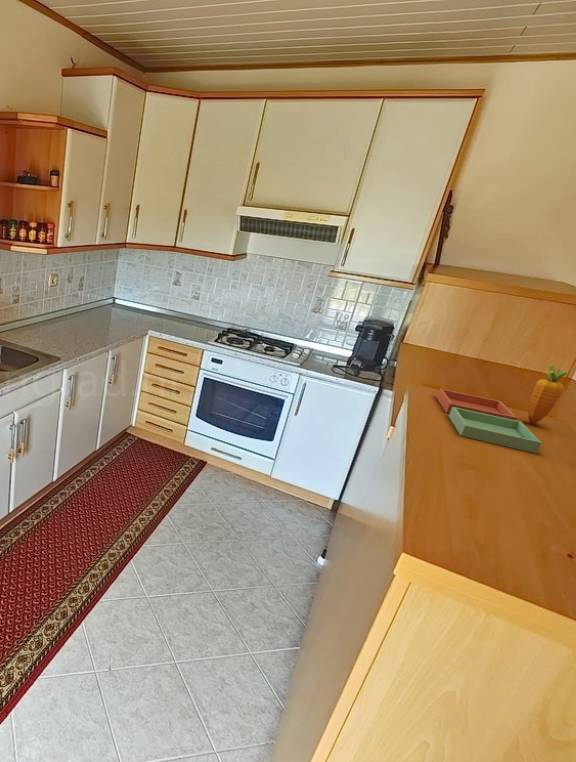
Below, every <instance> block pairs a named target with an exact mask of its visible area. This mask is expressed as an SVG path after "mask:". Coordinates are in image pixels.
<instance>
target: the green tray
mask: <svg viewBox="0 0 576 762" xmlns="http://www.w3.org/2000/svg"><path fill="white" fill-rule="evenodd" d="M448 418H449V419H450V421H451V422H452V424H453V426H454V427H455V429H456V431H457V432H458V434H459V435H460V436H461V437H465V438H468V439H473V440H477V441H480V442H486V443H490V444H494V445H498V446H502V447H507V448H510V449H511V448H512V449H515V450H520V451H525V452H528V453H532V454H538V451H539V449H540V448H541V445H542V441H541V440H540V439H539V438H538V437H537V436H536V435H535V434H534V433H533V432H532V431H531V430H530V429H529V428H528V427H527V426H526V425H525V424H524V423H523V421H521V420H520V421H519V420H517V419H516V420H511V419H506V418H502V417H497V416H492V415H488V414H483V413H478V412H474V411H469V410H465V409H460V408H455V407H452V409H451V412H450V414H448Z"/></svg>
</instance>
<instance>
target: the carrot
mask: <svg viewBox="0 0 576 762" xmlns="http://www.w3.org/2000/svg"><path fill="white" fill-rule="evenodd" d="M548 367H549V372H547V371H545V372H544V374H545V376H546V377H547V378H546V379H545V378H544V379H543V378H542V379H539V380H537V382H536V384H535V386H534V388H533V391H532V393H531V397H530V399H529V404H528V411H527V413H528V415H527V416H528V417H527V418H528V422H529V424H530V425H535V424H538V423H539V422H541V421H542V420H544V418H545V417H547V415H548V414H549V413H550V412H551V411H552V409H553V408H554V407H555V405H556V404H557V403H558V400H559V398H560V397H561V395H562V393H563V391H564V385H563V384H562V383H561V382H559V381H560V380H561V379H562V378H563V377H564V376H566V375H568V374H569V372H568V371H566V370H565V371H563V369H561V368H558V369H557V372H556V366H555V365H554V364H550V365H548Z"/></svg>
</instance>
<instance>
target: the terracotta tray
mask: <svg viewBox="0 0 576 762" xmlns="http://www.w3.org/2000/svg"><path fill="white" fill-rule="evenodd" d="M436 399H437V401H438V402H439V404H440V405H441V407H442V409H443V410H444V412H445V413H446V414H448V415H450V412H451V409H452V407H455V408H460V409H465V410H469V411H474V412H478V413H483V414H488V415H492V416H497V417H502V418H506V419H511V420H516V421H517V419H518V417H517V416H516V415H515V414H514V413H513V412H512V411H511V410H510V409H509V408H508V407H507V406H506V405H505V404H504V403H503V402H502V401H501V400H498V399H492V398H487V397H482V396H477V395H472V394H468V393H463V392H458V391H454V390H448V389H444V388H439V390H438V392H437V395H436Z"/></svg>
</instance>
